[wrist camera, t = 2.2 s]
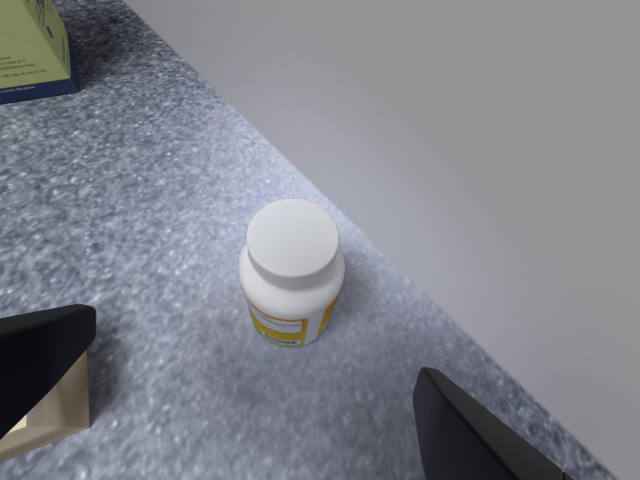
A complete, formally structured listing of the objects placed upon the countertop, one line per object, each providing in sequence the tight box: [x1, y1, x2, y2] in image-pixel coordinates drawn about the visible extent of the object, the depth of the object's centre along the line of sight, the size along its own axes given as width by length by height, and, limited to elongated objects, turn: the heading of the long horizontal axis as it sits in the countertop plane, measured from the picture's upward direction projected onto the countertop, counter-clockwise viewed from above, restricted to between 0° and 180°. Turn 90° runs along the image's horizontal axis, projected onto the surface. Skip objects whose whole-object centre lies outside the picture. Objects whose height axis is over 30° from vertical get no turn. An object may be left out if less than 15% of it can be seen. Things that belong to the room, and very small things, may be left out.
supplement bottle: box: [238, 199, 345, 348], centre depth 17 cm, size 5×5×10 cm
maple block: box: [0, 350, 90, 463], centre depth 16 cm, size 5×5×5 cm
